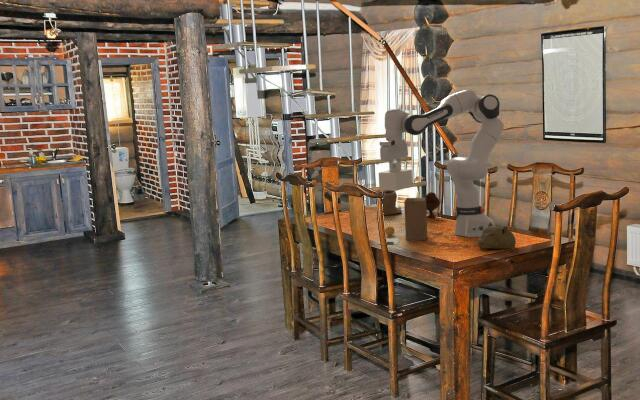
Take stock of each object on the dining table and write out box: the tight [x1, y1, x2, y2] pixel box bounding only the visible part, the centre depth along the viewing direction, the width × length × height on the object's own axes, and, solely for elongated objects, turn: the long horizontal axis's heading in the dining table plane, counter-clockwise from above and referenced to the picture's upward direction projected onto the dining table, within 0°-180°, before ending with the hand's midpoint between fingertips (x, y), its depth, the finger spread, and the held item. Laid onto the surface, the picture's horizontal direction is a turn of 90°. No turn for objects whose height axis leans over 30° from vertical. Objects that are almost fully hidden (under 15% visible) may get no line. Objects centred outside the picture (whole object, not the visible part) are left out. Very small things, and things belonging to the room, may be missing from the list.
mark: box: [386, 238, 399, 245], centre depth 348 cm, size 10×12×1 cm
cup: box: [378, 161, 414, 191], centre depth 356 cm, size 15×10×13 cm
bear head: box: [477, 223, 516, 252], centre depth 321 cm, size 14×18×12 cm
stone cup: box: [382, 190, 402, 216], centre depth 417 cm, size 15×12×15 cm
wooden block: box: [403, 197, 428, 241], centre depth 349 cm, size 10×10×20 cm
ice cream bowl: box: [422, 191, 441, 219], centre depth 400 cm, size 11×11×15 cm
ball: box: [384, 225, 395, 237], centre depth 360 cm, size 5×5×5 cm
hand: (395, 167), depth 355 cm, fingers closed on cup, 3 cm apart
